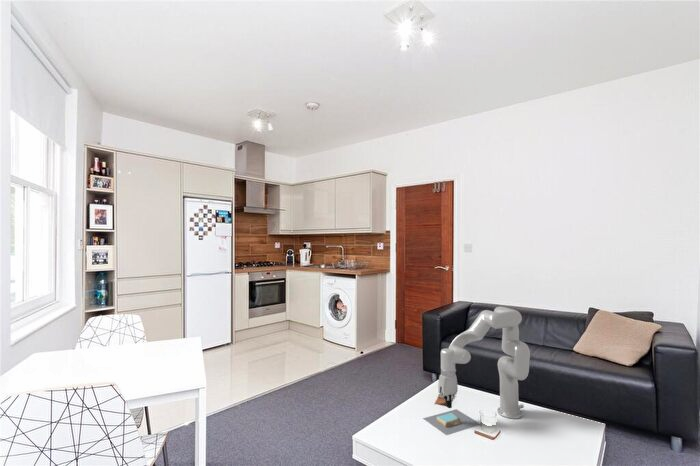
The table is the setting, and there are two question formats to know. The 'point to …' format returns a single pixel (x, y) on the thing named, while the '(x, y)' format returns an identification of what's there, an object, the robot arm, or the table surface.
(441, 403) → the sunglasses case
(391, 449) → the table surface
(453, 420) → the maple tile
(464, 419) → the rubber mat
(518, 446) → the table surface
